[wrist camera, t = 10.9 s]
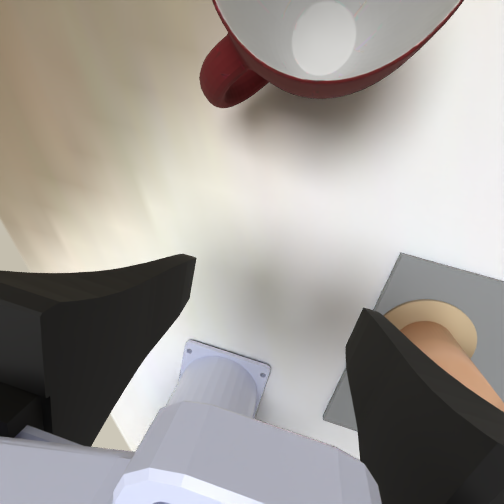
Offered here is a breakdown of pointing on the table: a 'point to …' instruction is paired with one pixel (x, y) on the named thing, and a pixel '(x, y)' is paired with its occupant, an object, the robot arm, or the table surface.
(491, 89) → the table surface
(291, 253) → the table surface
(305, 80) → the mug
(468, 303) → the felt mat
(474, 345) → the cork pad
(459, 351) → the terracotta cylinder
